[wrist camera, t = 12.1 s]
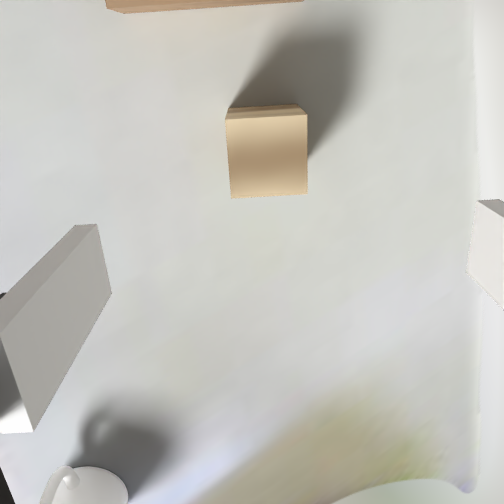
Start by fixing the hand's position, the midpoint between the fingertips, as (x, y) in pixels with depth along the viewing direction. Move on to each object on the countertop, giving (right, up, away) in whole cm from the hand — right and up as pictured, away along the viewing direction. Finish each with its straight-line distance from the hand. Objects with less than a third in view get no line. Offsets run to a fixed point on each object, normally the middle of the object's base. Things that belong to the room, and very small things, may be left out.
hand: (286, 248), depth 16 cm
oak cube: (0, +8, +18) cm, 20 cm away
